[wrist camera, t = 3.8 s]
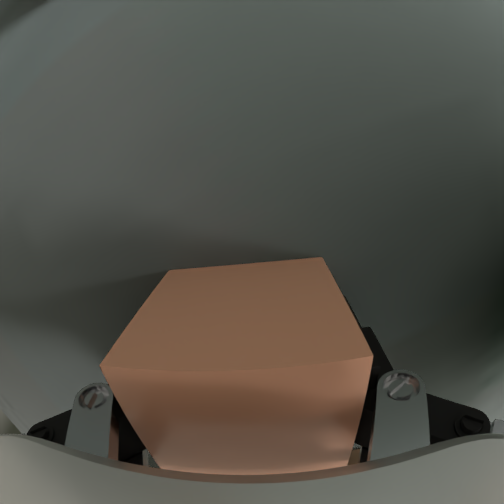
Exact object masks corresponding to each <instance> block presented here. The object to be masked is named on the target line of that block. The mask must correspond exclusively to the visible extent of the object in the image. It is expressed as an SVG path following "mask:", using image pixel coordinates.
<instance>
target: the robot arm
mask: <svg viewBox="0 0 504 504" xmlns="http://www.w3.org/2000/svg"><path fill="white" fill-rule="evenodd" d="M343 297H344V298H345V300H346V302H347V304H348V306H349V308H350V310H351V312H352V314H353V316H354V318H355V320H356V321H357V323H358V325H359V327H360V329H361V331H362V333H363V335H364V337H365V339H366V341H367V343H368V345H369V347H370V350H371V352H372V354H373V361H372V367H371V372H370V378H369V383H368V388H367V392H366V397H365V402H364V406H363V410H362V414H361V418H360V422H359V426H358V430H357V434H356V437H355V441H354V443H357V444H359V445H361V448H360V454H359V460H358V464H353V465H348V466H342V467H336V468H330V469H323V470H315V471H307V472H297V473H284V474H265V475H223V474H204V473H192V472H182V471H174V470H166V469H159V468H153V467H149V460H148V450H147V448H146V447H145V445H144V444H143V442H142V441H141V439H140V438H139V436H138V435H137V433H136V432H135V430H134V428H133V427H132V425H131V423H130V422H129V420H128V418H127V417H126V415H125V413H124V412H123V410H122V408H121V406H120V405H119V403H118V401H117V399H116V397H115V396H114V394H113V392H112V390H111V388H110V386H109V384H108V385H107V384H104V383H93V384H89V385H87V386H85V387H84V388H82V389H81V390H80V391H79V392H78V393H77V395H76V397H75V399H74V404H73V408H72V409H71V410H69V411H66V412H64V413H61V414H59V415H56V416H54V417H52V418H49V419H47V420H44V421H42V422H39V423H37V424H35V425H34V426H32V427H31V428H30V430H29V431H28V433H27V435H26V434H25V433H23V434H1V435H0V504H504V421H503V420H498V419H495V420H494V421H493V422H490V421H489V419H488V417H487V416H486V415H485V414H484V413H483V412H482V411H480V410H478V409H475V408H471V407H468V406H465V405H461V404H458V403H455V402H452V401H449V400H445V399H442V398H439V397H436V396H433V395H430V394H427V393H426V388H425V384H424V381H423V379H422V378H421V377H420V376H419V375H417V374H416V373H414V372H411V371H409V370H401V369H400V370H393V368H392V366H391V364H390V362H389V361H388V359H387V357H386V355H385V353H384V351H383V349H382V347H381V346H380V344H379V342H378V340H377V338H376V336H375V335H374V333H373V331H372V329H371V328H370V327H365V328H361V326H360V324H359V322H358V320H357V318H356V316H355V314H354V312H353V310H352V308H351V307H350V305H349V303H348V301H347V299H346V297H345V296H343Z"/></svg>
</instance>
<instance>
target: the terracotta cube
mask: <svg viewBox="0 0 504 504" xmlns="http://www.w3.org/2000/svg"><path fill="white" fill-rule="evenodd" d="M372 361H373V354H372V352H371V350H370V347H369V345H368V343H367V341H366V339H365V337H364V335H363V333H362V331H361V329H360V327H359V325H358V323H357V321H356V320H355V318H354V316H353V314H352V312H351V310H350V308H349V306H348V304H347V302H346V300H345V298H344V297H343V295H342V293H341V291H340V289H339V287H338V285H337V283H336V282H335V280H334V278H333V276H332V274H331V272H330V271H329V269H328V267H327V265H326V263H325V262H324V260H323V258H322V257H316V258H305V259H294V260H283V261H272V262H260V263H249V264H237V265H225V266H213V267H201V268H189V269H176V270H169V271H168V272H167V273H166V275H165V276H164V277H163V279H162V280H161V281H160V282H159V284H158V285H157V286H156V288H155V289H154V290H153V292H152V293H151V294H150V296H149V297H148V298H147V300H146V301H145V302H144V304H143V305H142V306H141V308H140V309H139V310H138V312H137V313H136V314H135V316H134V317H133V319H132V320H131V321H130V323H129V324H128V325H127V327H126V328H125V330H124V331H123V332H122V334H121V335H120V337H119V338H118V339H117V341H116V342H115V344H114V345H113V347H112V348H111V349H110V351H109V352H108V354H107V355H106V357H105V358H104V360H103V361H102V362H101V364H100V365H99V366H100V368H101V370H102V372H103V374H104V376H105V378H106V380H107V382H108V384H109V386H110V388H111V390H112V392H113V394H114V396H115V397H116V399H117V401H118V403H119V405H120V406H121V408H122V410H123V412H124V413H125V415H126V417H127V418H128V420H129V422H130V423H131V425H132V427H133V428H134V430H135V432H136V433H137V435H138V436H139V438H140V439H141V441H142V442H143V444H144V445H145V447H146V448H147V450H148V451H149V453H150V454H151V456H152V457H153V458H154V460H155V461H156V463H157V464H158V465H159V467H160V468H161V469H166V470H174V471H182V472H192V473H204V474H223V475H265V474H284V473H297V472H307V471H315V470H323V469H330V468H336V467H342V466H347V464H348V461H349V458H350V455H351V451H352V448H353V445H354V441H355V437H356V434H357V430H358V426H359V422H360V418H361V414H362V410H363V406H364V402H365V397H366V392H367V388H368V383H369V378H370V372H371V367H372Z"/></svg>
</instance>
